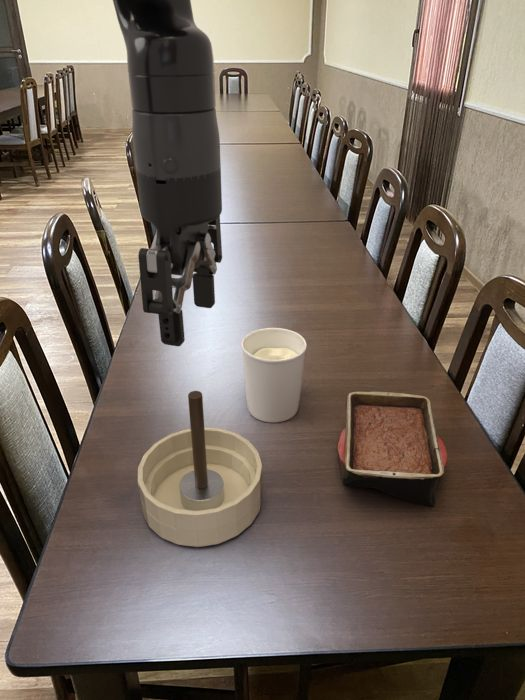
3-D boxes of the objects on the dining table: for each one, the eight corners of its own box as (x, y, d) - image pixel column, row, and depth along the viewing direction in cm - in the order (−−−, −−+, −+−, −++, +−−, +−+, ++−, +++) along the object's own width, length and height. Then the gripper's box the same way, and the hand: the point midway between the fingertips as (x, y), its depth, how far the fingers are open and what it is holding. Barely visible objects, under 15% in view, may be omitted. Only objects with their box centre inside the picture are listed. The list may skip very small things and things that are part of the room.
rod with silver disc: (190, 520, 66) (181, 415, 58) (174, 491, 70) (163, 388, 62) (231, 504, 68) (228, 400, 60) (213, 476, 73) (207, 375, 64)
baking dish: (325, 510, 71) (335, 463, 64) (342, 413, 84) (352, 366, 78) (436, 536, 69) (458, 490, 62) (435, 432, 82) (453, 386, 76)
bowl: (167, 569, 61) (163, 534, 58) (128, 483, 72) (122, 450, 69) (283, 519, 67) (284, 484, 64) (229, 447, 79) (228, 414, 75)
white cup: (237, 422, 83) (235, 357, 77) (248, 386, 92) (247, 325, 85) (300, 429, 82) (303, 363, 76) (305, 392, 90) (309, 330, 84)
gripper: (172, 146, 55) (183, 291, 63) (98, 179, 43) (124, 352, 51) (242, 150, 53) (244, 300, 61) (186, 186, 41) (197, 364, 49)
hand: (189, 323), depth 56 cm, fingers open, 8 cm apart
